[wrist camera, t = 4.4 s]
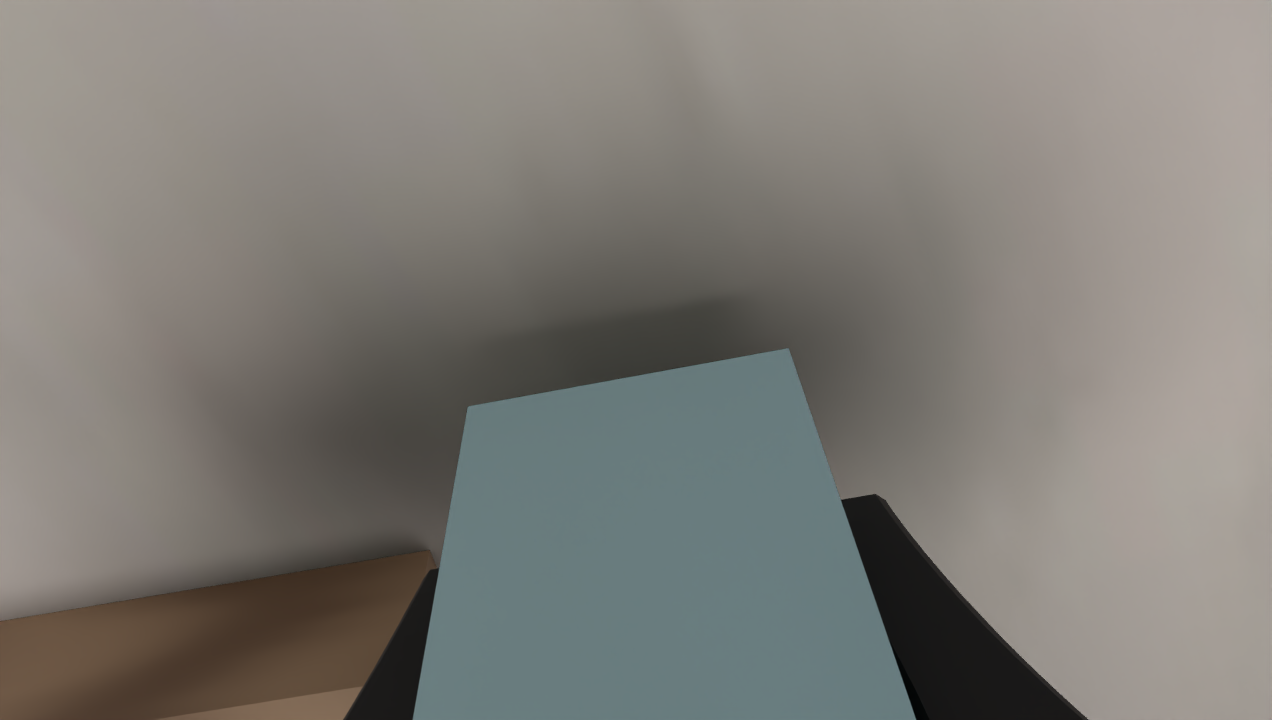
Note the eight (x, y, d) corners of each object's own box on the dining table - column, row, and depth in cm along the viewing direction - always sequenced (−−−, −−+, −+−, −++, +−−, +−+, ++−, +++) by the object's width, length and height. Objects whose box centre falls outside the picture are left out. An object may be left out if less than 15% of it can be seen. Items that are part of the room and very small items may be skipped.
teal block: (788, 348, 12) (945, 807, 7) (815, 580, 14) (951, 1061, 9) (468, 406, 12) (382, 891, 7) (544, 625, 14) (521, 1119, 9)
